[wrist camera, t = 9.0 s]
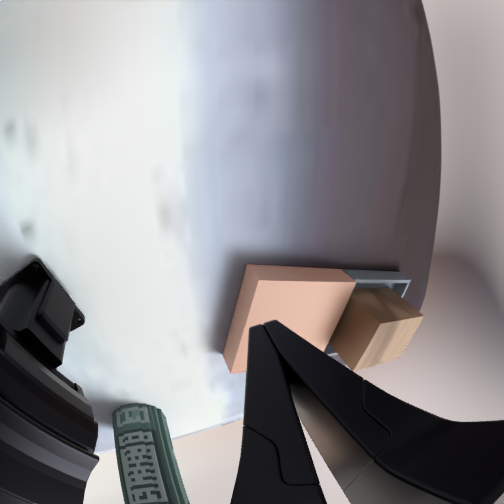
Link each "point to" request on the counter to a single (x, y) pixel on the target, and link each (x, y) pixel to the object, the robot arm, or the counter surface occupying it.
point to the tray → (375, 286)
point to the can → (146, 457)
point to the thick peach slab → (287, 305)
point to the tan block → (374, 327)
